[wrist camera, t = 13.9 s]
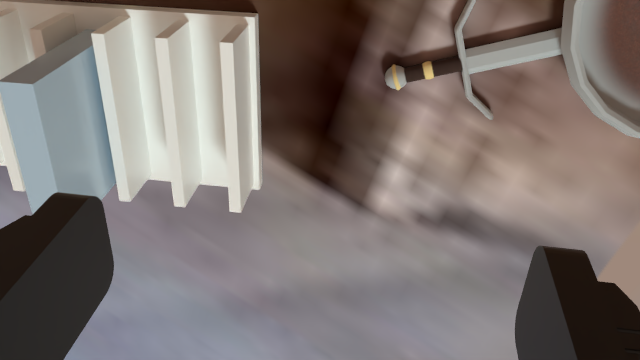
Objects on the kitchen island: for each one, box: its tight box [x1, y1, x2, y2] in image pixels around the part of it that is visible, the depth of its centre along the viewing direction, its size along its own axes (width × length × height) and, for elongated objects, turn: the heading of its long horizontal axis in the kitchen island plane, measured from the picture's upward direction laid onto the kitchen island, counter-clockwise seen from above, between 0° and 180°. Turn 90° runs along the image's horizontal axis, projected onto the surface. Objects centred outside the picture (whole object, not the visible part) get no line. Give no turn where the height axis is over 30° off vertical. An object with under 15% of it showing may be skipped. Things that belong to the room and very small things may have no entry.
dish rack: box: [0, 0, 262, 213], centre depth 41 cm, size 13×22×5 cm, turn 88°
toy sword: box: [385, 0, 640, 138], centre depth 36 cm, size 17×3×28 cm
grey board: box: [0, 29, 116, 215], centre depth 38 cm, size 10×2×10 cm, turn 178°
